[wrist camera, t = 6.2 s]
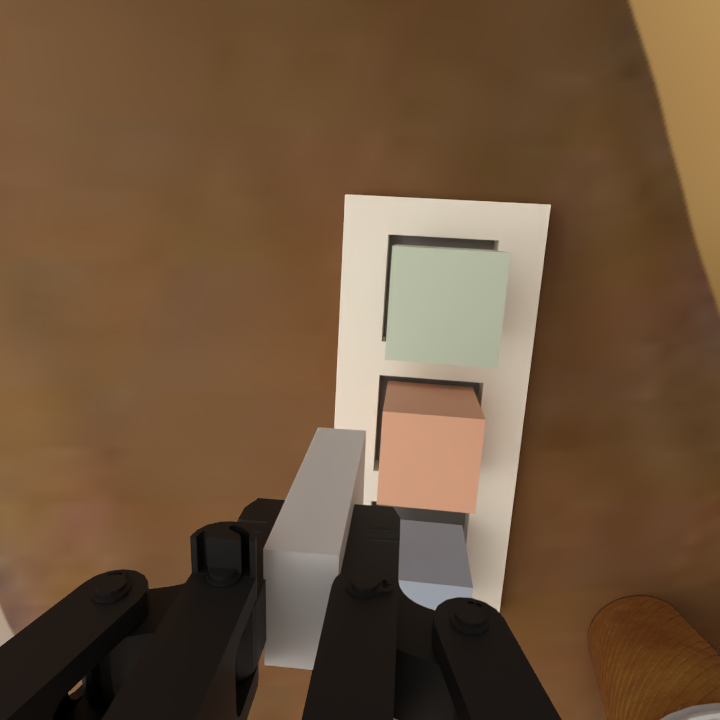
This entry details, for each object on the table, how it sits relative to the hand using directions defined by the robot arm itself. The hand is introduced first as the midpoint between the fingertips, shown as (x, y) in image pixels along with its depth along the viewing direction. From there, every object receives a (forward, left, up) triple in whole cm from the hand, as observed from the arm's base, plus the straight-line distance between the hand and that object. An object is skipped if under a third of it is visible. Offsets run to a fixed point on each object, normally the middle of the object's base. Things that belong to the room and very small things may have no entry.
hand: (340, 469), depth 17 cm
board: (+4, +3, -17) cm, 18 cm away
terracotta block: (+4, +3, -16) cm, 17 cm away
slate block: (+12, +3, -14) cm, 19 cm away
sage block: (-4, +3, -14) cm, 15 cm away
